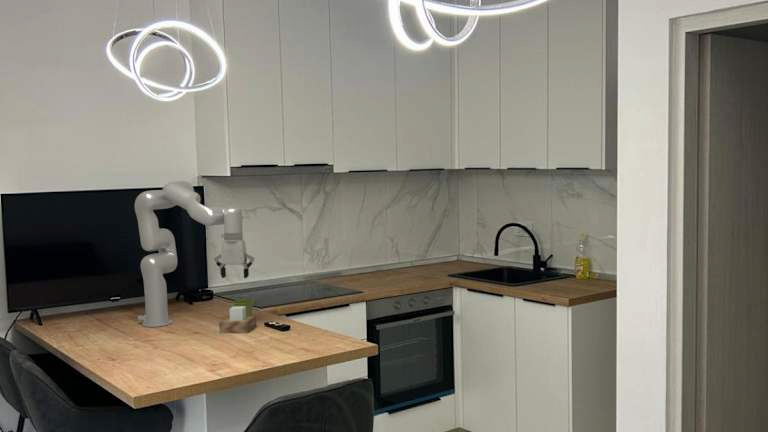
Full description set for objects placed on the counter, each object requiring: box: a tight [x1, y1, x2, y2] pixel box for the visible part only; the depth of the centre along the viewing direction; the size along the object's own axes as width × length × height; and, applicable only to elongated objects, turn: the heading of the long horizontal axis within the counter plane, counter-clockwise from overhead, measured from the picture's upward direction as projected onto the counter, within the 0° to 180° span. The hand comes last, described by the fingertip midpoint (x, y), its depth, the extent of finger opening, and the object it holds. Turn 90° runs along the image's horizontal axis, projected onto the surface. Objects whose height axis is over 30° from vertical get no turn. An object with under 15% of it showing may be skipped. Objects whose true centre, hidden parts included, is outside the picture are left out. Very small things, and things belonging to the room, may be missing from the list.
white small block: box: [228, 306, 246, 321], centre depth 309 cm, size 6×6×5 cm
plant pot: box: [232, 299, 255, 317], centre depth 330 cm, size 9×9×9 cm
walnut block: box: [218, 316, 257, 334], centre depth 309 cm, size 12×12×5 cm
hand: (234, 277), depth 308 cm, fingers open, 9 cm apart
